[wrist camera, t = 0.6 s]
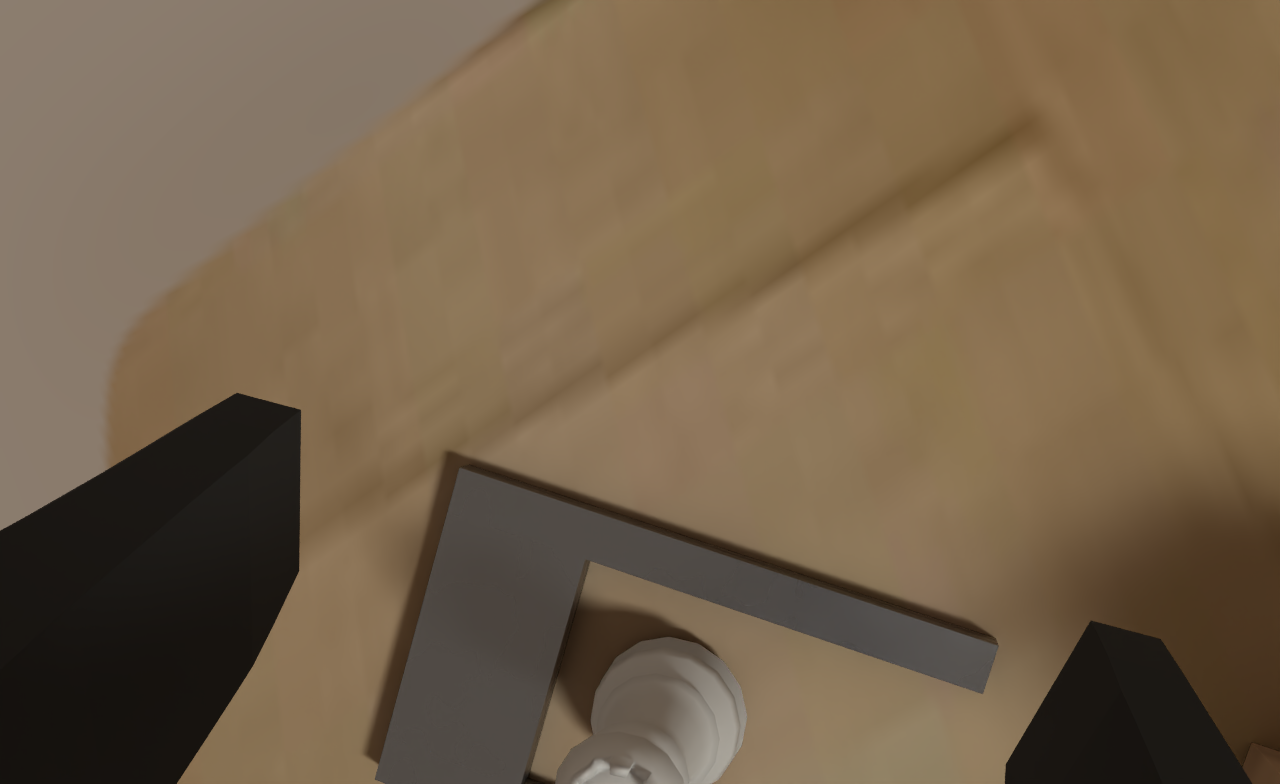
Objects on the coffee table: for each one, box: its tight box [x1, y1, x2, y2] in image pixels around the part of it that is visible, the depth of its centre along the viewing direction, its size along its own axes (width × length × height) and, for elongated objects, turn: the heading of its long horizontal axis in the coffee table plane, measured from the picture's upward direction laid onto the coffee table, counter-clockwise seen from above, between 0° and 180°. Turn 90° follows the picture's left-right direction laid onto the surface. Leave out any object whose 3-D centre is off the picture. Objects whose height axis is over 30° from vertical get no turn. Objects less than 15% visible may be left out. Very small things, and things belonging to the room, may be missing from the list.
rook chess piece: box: [555, 637, 747, 784], centre depth 31 cm, size 4×4×8 cm
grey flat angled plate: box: [375, 465, 998, 784], centre depth 34 cm, size 10×16×1 cm, turn 74°
